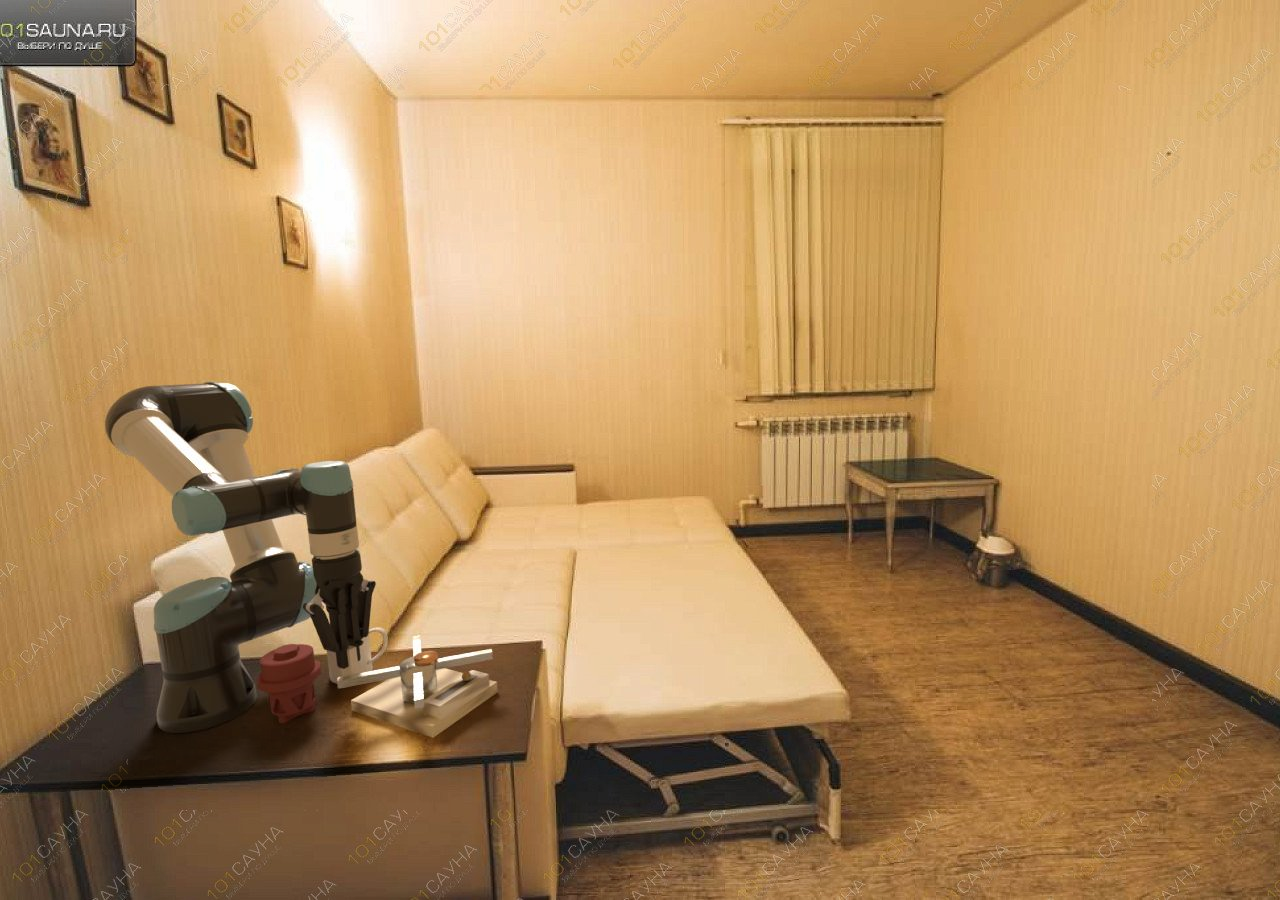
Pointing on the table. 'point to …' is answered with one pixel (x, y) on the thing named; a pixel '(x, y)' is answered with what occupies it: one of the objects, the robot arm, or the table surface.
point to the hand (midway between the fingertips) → (351, 681)
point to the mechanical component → (289, 680)
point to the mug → (365, 654)
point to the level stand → (427, 701)
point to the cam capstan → (416, 672)
